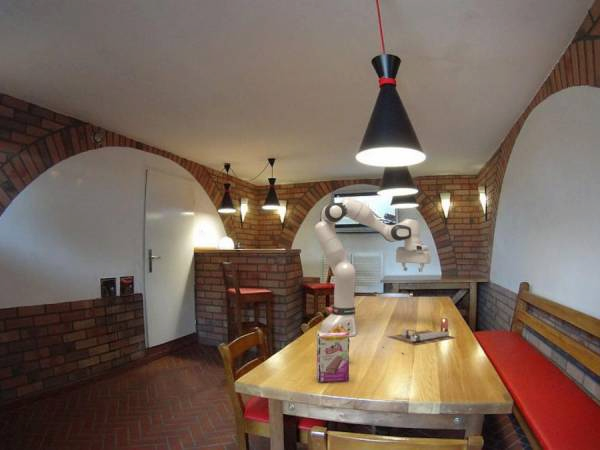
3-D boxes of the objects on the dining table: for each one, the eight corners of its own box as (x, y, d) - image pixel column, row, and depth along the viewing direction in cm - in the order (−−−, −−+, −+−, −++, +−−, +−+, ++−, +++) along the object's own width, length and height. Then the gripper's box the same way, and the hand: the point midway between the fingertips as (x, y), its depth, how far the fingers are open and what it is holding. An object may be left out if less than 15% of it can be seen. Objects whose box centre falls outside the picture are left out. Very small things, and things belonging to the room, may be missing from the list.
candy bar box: (319, 383, 130) (318, 336, 131) (316, 378, 135) (316, 333, 136) (349, 381, 132) (349, 335, 133) (346, 376, 137) (345, 331, 138)
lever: (415, 342, 175) (414, 324, 176) (409, 340, 179) (409, 323, 179) (450, 335, 187) (449, 319, 188) (444, 334, 191) (444, 317, 191)
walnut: (412, 340, 182) (412, 332, 182) (406, 338, 185) (406, 330, 186) (418, 339, 184) (418, 331, 184) (412, 337, 187) (412, 329, 188)
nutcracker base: (415, 348, 172) (414, 336, 173) (386, 339, 189) (386, 328, 189) (457, 340, 186) (456, 329, 186) (427, 332, 203) (427, 322, 203)
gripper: (393, 246, 218) (393, 270, 217) (426, 247, 203) (426, 272, 202) (399, 246, 222) (399, 270, 221) (431, 246, 207) (432, 271, 207)
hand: (412, 271), depth 212 cm, fingers open, 8 cm apart
